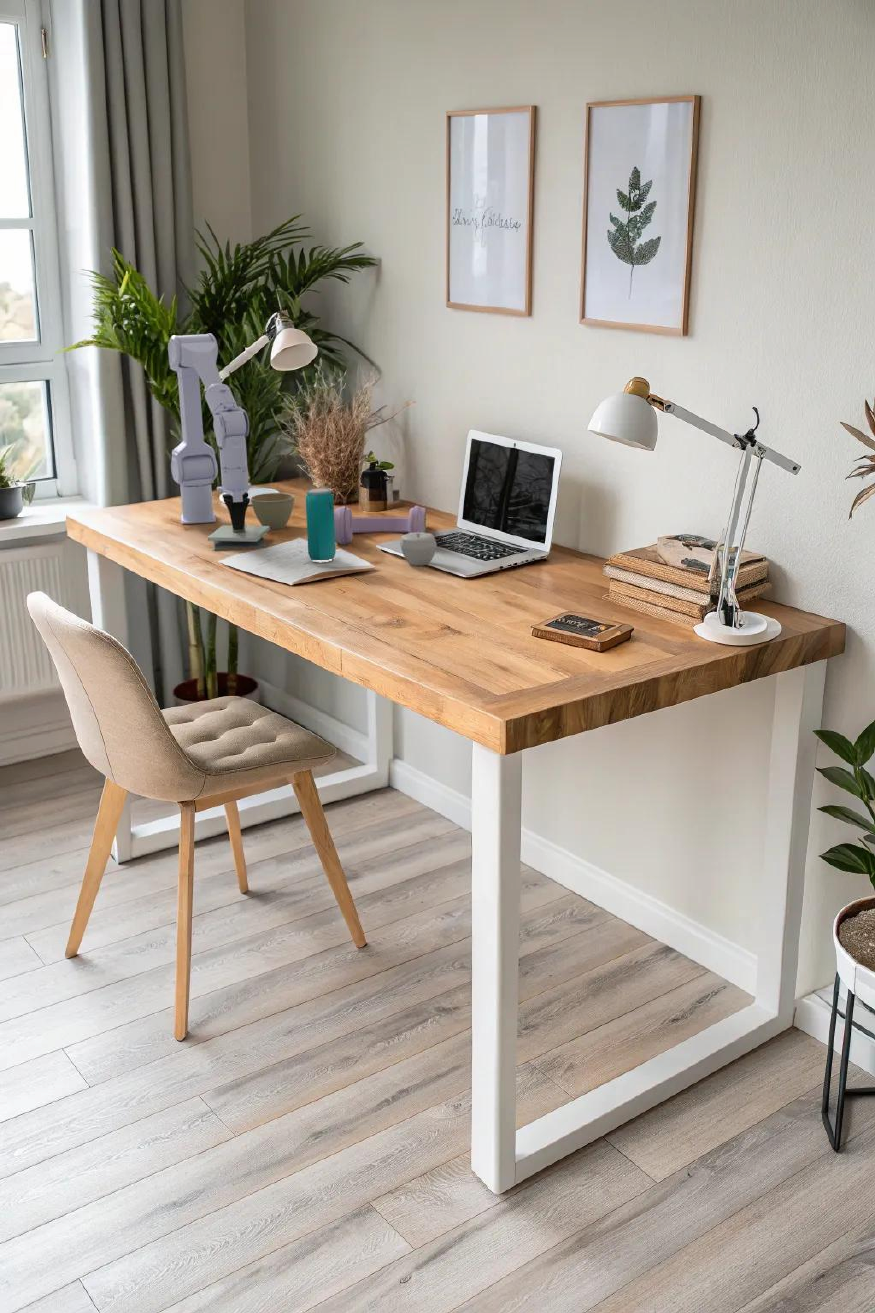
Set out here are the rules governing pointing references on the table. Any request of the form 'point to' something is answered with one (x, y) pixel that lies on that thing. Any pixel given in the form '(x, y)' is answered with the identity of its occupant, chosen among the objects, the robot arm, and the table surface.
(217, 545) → the mat
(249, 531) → the lid
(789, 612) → the table surface
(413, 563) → the apple
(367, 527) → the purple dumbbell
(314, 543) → the beverage can
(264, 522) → the flower pot
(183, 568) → the table surface
